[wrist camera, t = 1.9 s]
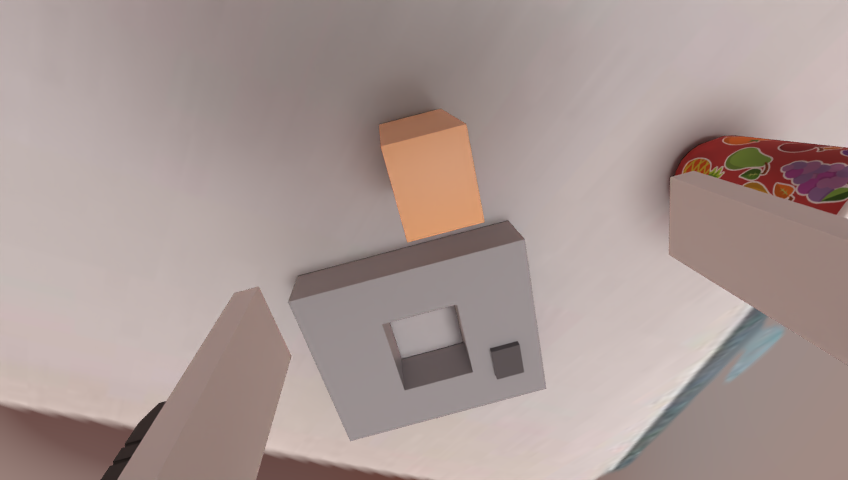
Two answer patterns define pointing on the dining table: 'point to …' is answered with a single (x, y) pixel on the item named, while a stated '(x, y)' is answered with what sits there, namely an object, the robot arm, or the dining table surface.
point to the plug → (431, 173)
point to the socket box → (413, 295)
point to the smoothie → (777, 169)
